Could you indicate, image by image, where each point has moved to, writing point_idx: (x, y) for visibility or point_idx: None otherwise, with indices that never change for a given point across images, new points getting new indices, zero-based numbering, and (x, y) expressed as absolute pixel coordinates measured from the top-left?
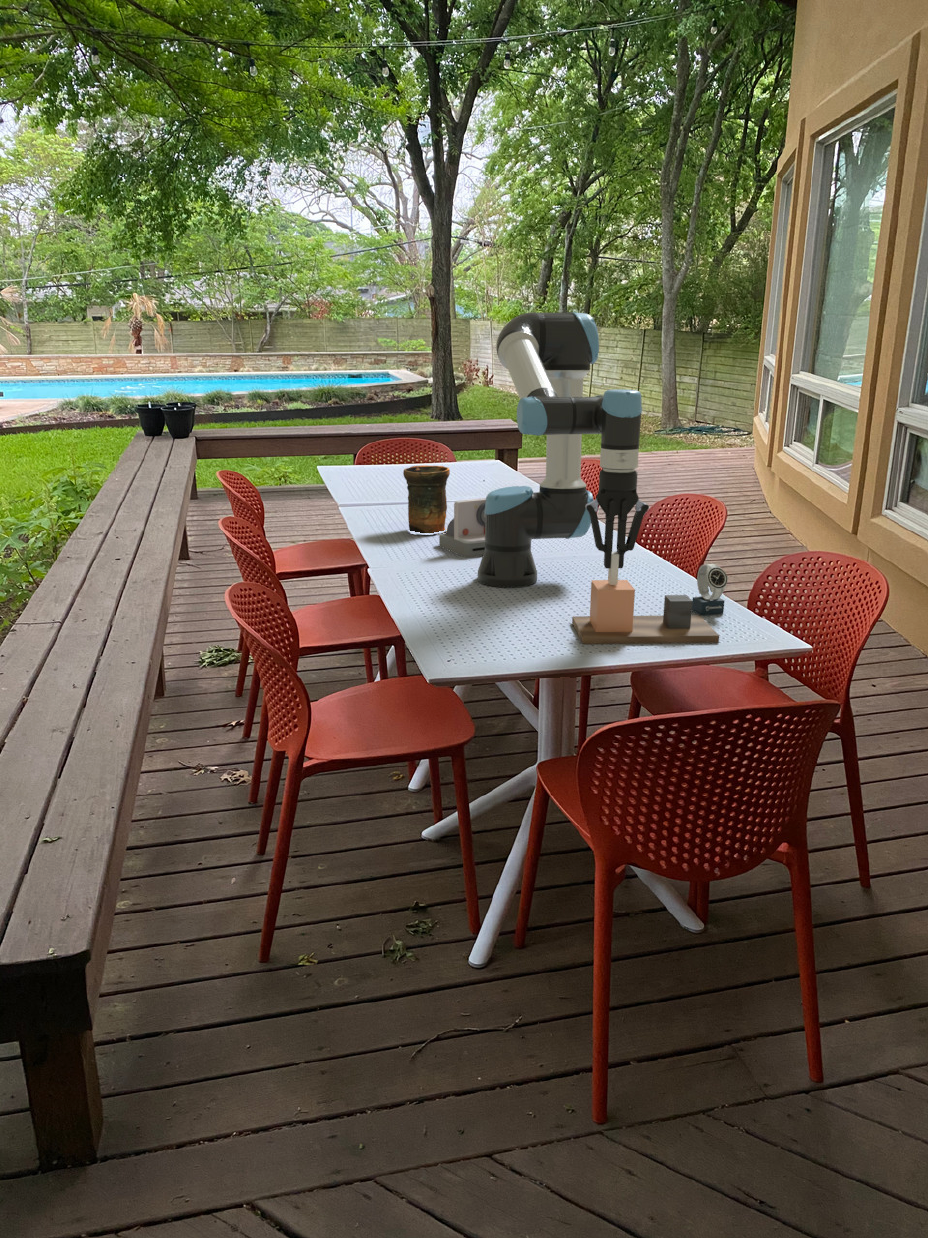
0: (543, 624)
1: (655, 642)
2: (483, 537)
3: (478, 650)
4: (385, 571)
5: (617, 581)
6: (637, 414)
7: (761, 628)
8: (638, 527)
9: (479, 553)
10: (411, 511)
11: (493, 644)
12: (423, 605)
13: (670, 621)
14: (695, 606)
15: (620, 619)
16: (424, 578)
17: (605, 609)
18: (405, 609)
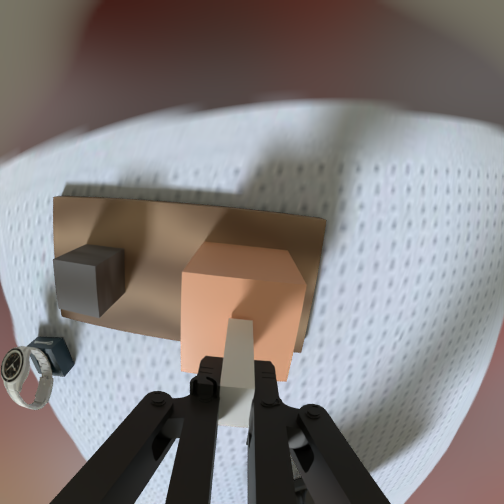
0: (352, 342)
1: (166, 201)
2: None
3: (477, 222)
4: (417, 484)
5: (228, 323)
6: None
7: (4, 259)
8: (90, 469)
9: None
10: None
11: (456, 246)
12: (451, 407)
13: (114, 252)
14: (66, 360)
15: (231, 251)
16: (398, 479)
17: (272, 263)
18: (472, 391)
